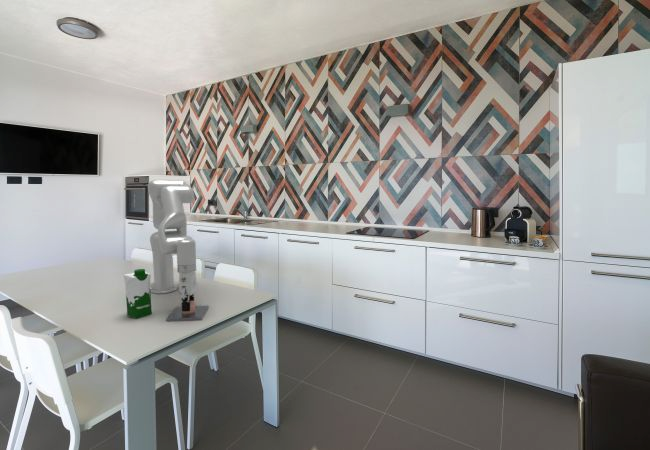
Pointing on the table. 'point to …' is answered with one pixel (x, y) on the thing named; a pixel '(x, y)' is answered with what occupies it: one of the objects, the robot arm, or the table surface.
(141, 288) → the milk carton
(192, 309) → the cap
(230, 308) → the table surface
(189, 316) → the stud plate
